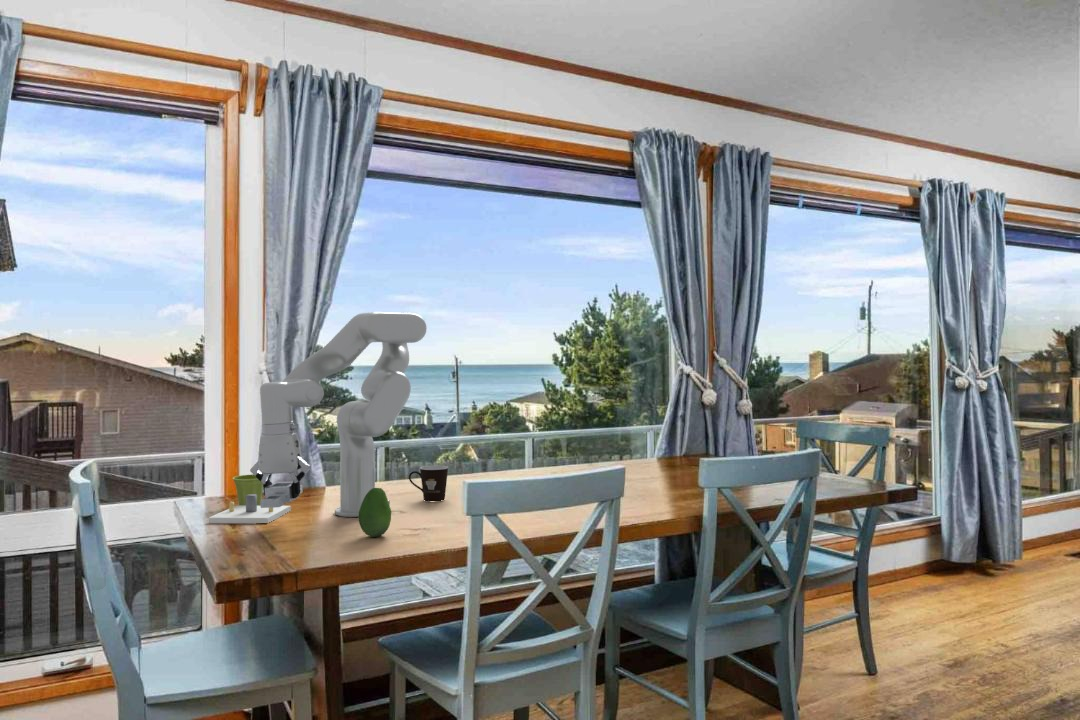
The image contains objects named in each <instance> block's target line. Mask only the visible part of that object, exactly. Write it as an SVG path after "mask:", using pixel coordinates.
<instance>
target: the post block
mask: <svg viewBox="0 0 1080 720" xmlns="http://www.w3.org/2000/svg"><path fill="white" fill-rule="evenodd" d="M228 504H229V507H228V508H227V509H225V510H223V511H221V512H218V513H216V514H214V515H211V516H209V517H208V524H256V523H268V524H270V523H272V522H273V520H274V521H275V520H277V519H279V518H281V517H282V515H283V516H284V515H286V514H288V513H290V512H291V511H292V510H291V509H292V506H291V505H282V506H281V507H274V508H261V505H259V506H257V495H256V494H249V495H246V506H244V505H239V504H238V505H235V502H234V501H230V502H229V503H228ZM289 511H290V512H289ZM287 512H288V513H287ZM285 513H286V514H285ZM280 516H281V517H280ZM271 521H272V522H271ZM269 522H270V523H269Z"/></svg>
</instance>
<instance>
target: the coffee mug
mask: <svg viewBox="0 0 1080 720" xmlns="http://www.w3.org/2000/svg"><path fill="white" fill-rule="evenodd" d="M419 470H420V471H411V472H410V473H409V474H408V481H409V482H410V483H411V485H412V486H413V487H415V488H416V489H418V490H419V491H421V493H422V495H423V497H422V498H423V501H424V500H425V501H424V502H426V501H440V502H442V501H441V500H444V499H446V490H447V481H448V473H449V466H445V465H426V466H421V467H419ZM413 474H417V475H418V477H420V479H421V487H420V486H419V485H417V484H416V483H414V481H413V480H412V479H411V478H412V477H411V476H412V475H413ZM444 501H445V500H444Z"/></svg>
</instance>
